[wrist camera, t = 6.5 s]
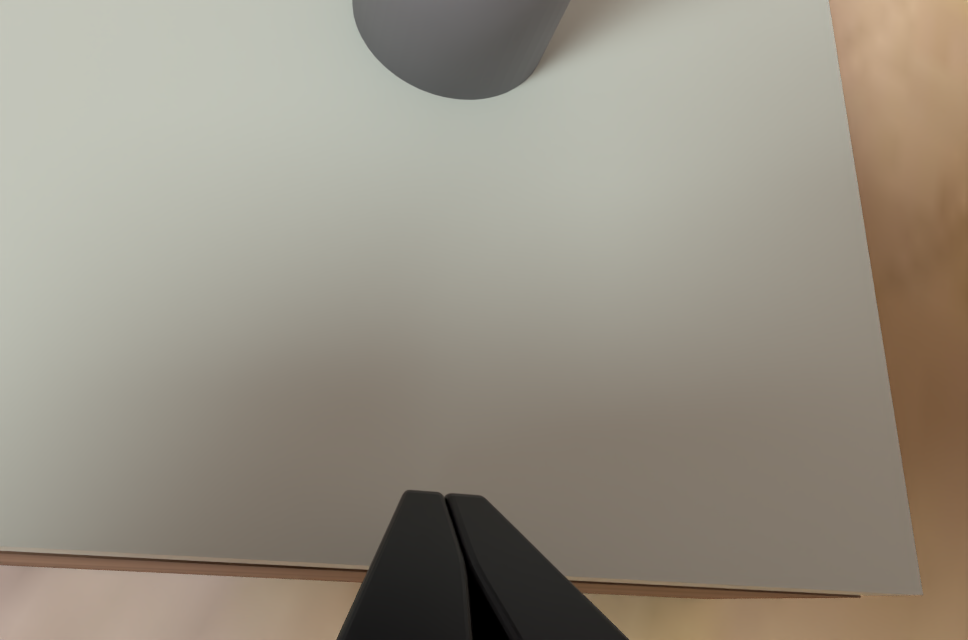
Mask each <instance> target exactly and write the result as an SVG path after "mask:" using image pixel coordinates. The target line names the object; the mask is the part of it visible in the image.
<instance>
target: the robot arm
mask: <svg viewBox="0 0 968 640" xmlns="http://www.w3.org/2000/svg"><path fill="white" fill-rule="evenodd" d="M336 640H629V639H628V638H627V637H626V636H625V635H624V634H623V633H622V632H621V631H620V630H619V629H618V628H617V627H616V626H615V625H614V624H613V623H612V622H611V621H610V620H609V619H608V618H607V617H606V616H605V615H604V614H603V613H602V612H601V611H600V610H599V609H598V608H597V607H596V606H595V605H594V604H593V603H592V602H590V601H589V600H588V599H587V598H586V597H585V596H584V595H583V594H582V593H581V592H580V591H579V590H578V589H577V588H576V587H575V586H574V585H573V584H572V583H571V582H570V581H569V580H568V579H567V578H566V577H565V576H564V575H563V574H562V573H561V572H560V571H559V570H558V569H557V568H556V567H555V566H554V565H553V564H552V563H551V562H550V561H549V560H548V559H547V558H546V557H545V556H544V555H543V554H542V553H541V552H540V551H539V550H538V549H537V548H536V547H535V546H534V545H533V544H532V543H531V542H530V541H529V540H528V539H527V538H526V537H525V536H524V535H523V534H522V533H521V532H520V531H519V530H518V529H517V528H516V527H515V526H514V525H513V524H511V523H510V522H509V521H508V520H507V519H506V518H505V517H504V516H503V515H502V514H501V513H500V512H499V511H498V510H497V509H496V508H495V507H494V506H493V505H492V504H491V503H490V502H489V501H488V500H487V499H486V498H485V497H483V496H481V495H473V494H459V493H448V494H446V495H445V496H443V495H442V494H441V493H439V492H434V491H421V490H406V491H405V492H404V493H403V494H402V496H401V498H400V501H399V503H398V505H397V507H396V510H395V512H394V514H393V516H392V518H391V521H390V523H389V525H388V527H387V529H386V532H385V534H384V536H383V538H382V540H381V543H380V545H379V547H378V549H377V551H376V554H375V556H374V558H373V560H372V562H371V565H370V567H369V569H368V571H367V573H366V576H365V578H364V580H363V582H362V584H361V587H360V589H359V591H358V593H357V595H356V598H355V600H354V602H353V604H352V606H351V609H350V611H349V613H348V615H347V617H346V620H345V622H344V624H343V626H342V628H341V631H340V633H339V635H338V637H337V639H336Z"/></svg>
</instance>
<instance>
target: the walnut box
mask: <svg viewBox="0 0 968 640" xmlns="http://www.w3.org/2000/svg"><path fill="white" fill-rule="evenodd" d="M0 565H11V566H32V567H53V568H74V569H95V570H115V571H136V572H157V573H178V574H199V575H220V576H240V577H261V578H282V579H303V580H324V581H344V582H363V580H364V578H365V576H366V573H367V571H368V570H364V569H344V568H325V567H306V566H287V565H267V564H248V563H229V562H210V561H190V560H171V559H152V558H133V557H113V556H94V555H75V554H56V553H36V552H17V551H0ZM569 581H570V582H571V583H572V584H573V585H574V586H575V587H576V588H577V589H578V590H579V591H580V592H581V593H594V594H615V595H636V596H657V597H677V598H698V599H736V598H858V597H860V595H845V594H825V593H806V592H787V591H768V590H748V589H729V588H710V587H691V586H671V585H652V584H633V583H614V582H594V581H575V580H569Z"/></svg>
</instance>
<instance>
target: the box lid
mask: <svg viewBox="0 0 968 640" xmlns="http://www.w3.org/2000/svg"><path fill="white" fill-rule="evenodd" d="M406 490H421V491H434V492H439V493H441V494H442V495H443V496H445V495H446V494H448V493H459V494H473V495H481V496H483V497H485V498H486V499H487V500H488V501H489V502H490V503H491V504H492V505H493V506H494V507H495V508H496V509H497V510H498V511H499V512H500V513H501V514H502V515H503V516H504V517H505V518H506V519H507V520H508V521H509V522H510V523H511V524H513V525H514V526H515V527H516V528H517V529H518V530H519V531H520V532H521V533H522V534H523V535H524V536H525V537H526V538H527V539H528V540H529V541H530V542H531V543H532V544H533V545H534V546H535V547H536V548H537V549H538V550H539V551H540V552H541V553H542V554H543V555H544V556H545V557H546V558H547V559H548V560H549V561H550V562H551V563H552V564H553V565H554V566H555V567H556V568H557V569H558V570H559V571H560V572H561V573H562V574H563V575H564V576H565V577H566V578H567V579H568V580H575V581H594V582H614V583H633V584H652V585H671V586H691V587H710V588H729V589H748V590H768V591H787V592H806V593H825V594H845V595H864V596H900V595H923V591H922V585H921V579H920V572H919V566H918V560H917V553H916V547H915V541H914V534H913V528H912V522H911V516H910V509H909V503H908V497H907V490H906V484H905V478H904V472H903V465H902V459H901V453H900V446H899V440H898V434H897V428H896V421H895V415H894V409H893V402H892V396H891V390H890V383H889V377H888V371H887V365H886V358H885V352H884V346H883V339H882V333H881V327H880V321H879V314H878V308H877V302H876V295H875V289H874V283H873V276H872V270H871V264H870V258H869V251H868V245H867V239H866V232H865V226H864V220H863V214H862V207H861V201H860V195H859V188H858V182H857V176H856V170H855V163H854V157H853V151H852V144H851V138H850V132H849V125H848V119H847V113H846V107H845V100H844V94H843V88H842V81H841V75H840V69H839V63H838V56H837V50H836V44H835V37H834V31H833V25H832V18H831V12H830V6H829V0H0V551H17V552H36V553H56V554H75V555H94V556H113V557H133V558H152V559H171V560H190V561H210V562H229V563H248V564H267V565H287V566H306V567H325V568H344V569H364V570H368V569H369V567H370V565H371V562H372V560H373V558H374V556H375V554H376V551H377V549H378V547H379V545H380V543H381V540H382V538H383V536H384V534H385V532H386V529H387V527H388V525H389V523H390V521H391V518H392V516H393V514H394V512H395V510H396V507H397V505H398V503H399V501H400V498H401V496H402V494H403V493H404V492H405V491H406Z"/></svg>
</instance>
